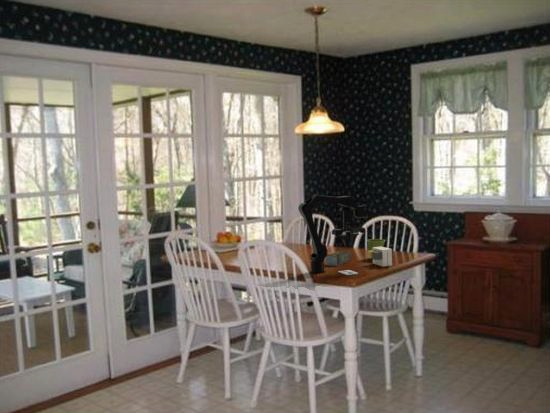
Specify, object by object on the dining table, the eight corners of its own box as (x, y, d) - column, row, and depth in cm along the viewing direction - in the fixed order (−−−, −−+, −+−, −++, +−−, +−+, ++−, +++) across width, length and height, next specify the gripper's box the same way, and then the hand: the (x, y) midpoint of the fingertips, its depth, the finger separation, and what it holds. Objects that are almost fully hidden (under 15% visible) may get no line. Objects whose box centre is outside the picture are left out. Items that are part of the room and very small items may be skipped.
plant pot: (385, 260, 343) (385, 241, 342) (365, 260, 345) (365, 241, 344) (385, 256, 354) (385, 238, 353) (366, 256, 357) (366, 238, 356)
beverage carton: (325, 265, 334) (324, 254, 333) (339, 260, 350) (339, 249, 349) (337, 266, 330) (337, 255, 329) (351, 260, 346) (351, 250, 345)
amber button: (370, 258, 327) (370, 251, 327) (367, 257, 331) (367, 250, 330) (377, 257, 329) (377, 250, 329) (374, 256, 332) (373, 250, 332)
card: (346, 275, 303) (346, 273, 303) (338, 271, 312) (337, 270, 312) (358, 273, 306) (358, 272, 306) (349, 270, 315) (349, 269, 315)
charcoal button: (375, 260, 322) (375, 253, 322) (372, 259, 326) (372, 252, 325) (382, 259, 324) (382, 252, 324) (379, 258, 327) (378, 251, 327)
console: (383, 266, 323) (382, 250, 322) (372, 263, 333) (372, 247, 333) (392, 265, 325) (391, 249, 325) (381, 262, 336) (381, 246, 335)
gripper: (340, 221, 305) (341, 249, 307) (370, 218, 312) (371, 246, 314) (330, 219, 316) (331, 247, 317) (360, 217, 323) (360, 244, 324)
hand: (348, 246), depth 318 cm, fingers open, 4 cm apart
